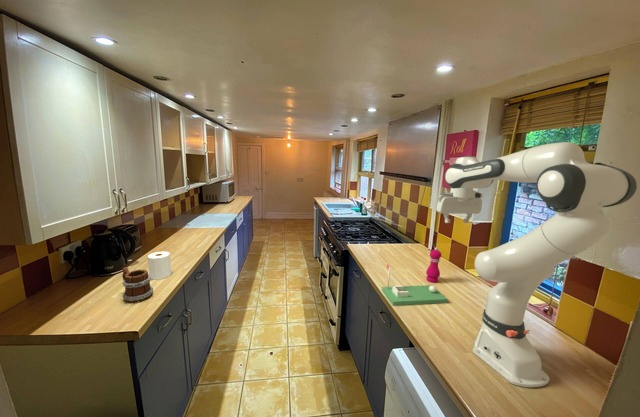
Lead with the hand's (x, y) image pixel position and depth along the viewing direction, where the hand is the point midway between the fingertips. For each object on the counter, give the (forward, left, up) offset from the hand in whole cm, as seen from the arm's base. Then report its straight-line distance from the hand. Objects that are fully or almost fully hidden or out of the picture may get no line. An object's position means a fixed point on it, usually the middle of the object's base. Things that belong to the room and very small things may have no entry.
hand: (456, 222), depth 120 cm
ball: (+6, +4, -36) cm, 37 cm away
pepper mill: (+22, -6, -40) cm, 46 cm away
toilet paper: (+39, +146, -40) cm, 156 cm away
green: (+6, +14, -40) cm, 43 cm away
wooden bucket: (+17, +147, -40) cm, 154 cm away
